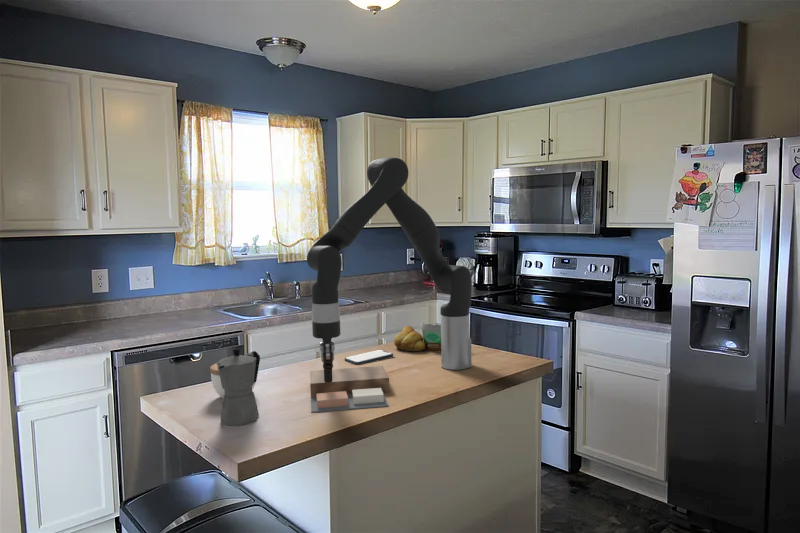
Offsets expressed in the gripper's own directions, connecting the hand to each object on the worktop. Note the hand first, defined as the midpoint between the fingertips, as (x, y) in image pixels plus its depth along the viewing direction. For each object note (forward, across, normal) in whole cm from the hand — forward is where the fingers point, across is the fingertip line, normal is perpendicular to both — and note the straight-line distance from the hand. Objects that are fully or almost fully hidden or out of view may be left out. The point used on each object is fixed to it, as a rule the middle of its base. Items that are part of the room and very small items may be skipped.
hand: (328, 381), depth 150 cm
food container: (+5, +46, -41) cm, 62 cm away
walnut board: (+5, +9, -6) cm, 12 cm away
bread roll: (+5, +50, -32) cm, 59 cm away
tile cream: (+4, -4, -10) cm, 12 cm away
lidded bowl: (+5, +8, +26) cm, 28 cm away
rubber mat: (+5, -4, -5) cm, 8 cm away
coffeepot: (+5, -10, +22) cm, 24 cm away
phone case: (+6, +40, -16) cm, 44 cm away
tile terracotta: (+4, -5, -1) cm, 6 cm away
